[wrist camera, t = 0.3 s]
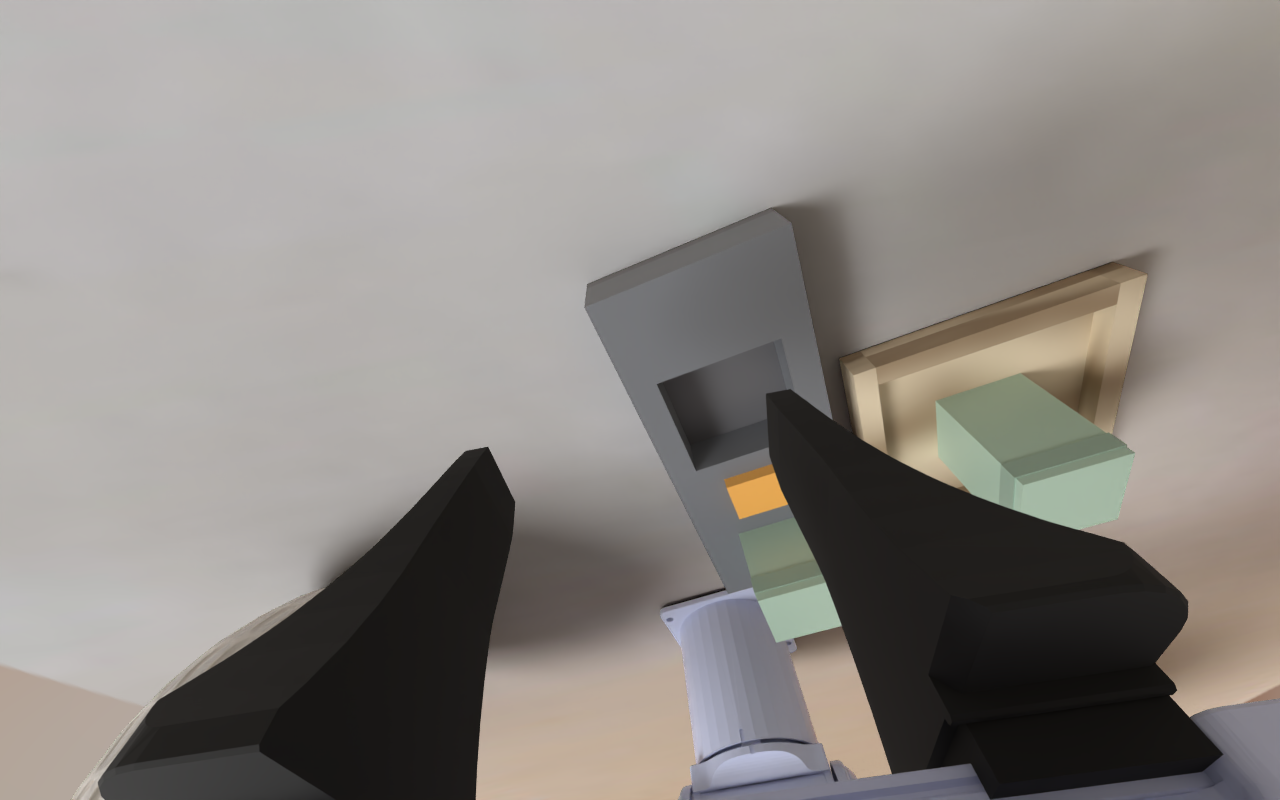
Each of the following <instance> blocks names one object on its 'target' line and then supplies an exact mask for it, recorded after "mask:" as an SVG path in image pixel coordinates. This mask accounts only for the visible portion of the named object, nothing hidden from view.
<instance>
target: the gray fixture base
mask: <svg viewBox="0 0 1280 800" xmlns="http://www.w3.org/2000/svg"><path fill="white" fill-rule="evenodd" d="M585 309H586V311H587V313H588V315H589V317H590V319H591V321H592V323H593V325H594V327H595V329H596V331H597V333H598V335H599V337H600V339H601V341H602V343H603V345H604V347H605V349H606V351H607V353H608V355H609V357H610V359H611V361H612V363H613V365H614V367H615V369H616V371H617V373H618V375H619V377H620V379H621V381H622V383H623V385H624V387H625V389H626V391H627V393H628V395H629V397H630V399H631V401H632V403H633V405H634V407H635V409H636V411H637V413H638V415H639V417H640V419H641V421H642V423H643V425H644V427H645V429H646V431H647V433H648V435H649V437H650V439H651V441H652V443H653V445H654V447H655V449H656V451H657V453H658V455H659V457H660V459H661V461H662V463H663V465H664V467H665V469H666V471H667V473H668V475H669V477H670V479H671V481H672V483H673V485H674V487H675V489H676V491H677V493H678V495H679V497H680V499H681V501H682V503H683V505H684V507H685V509H686V511H687V513H688V515H689V517H690V519H691V521H692V523H693V525H694V527H695V529H696V531H697V533H698V535H699V537H700V539H701V541H702V543H703V545H704V547H705V549H706V551H707V553H708V555H709V557H710V558H711V560H712V562H713V564H714V566H715V568H716V570H717V572H718V574H719V576H720V578H721V580H722V582H723V584H724V586H725V588H726V590H727V592H728V594H730V593H734V592H737V591H741V590H744V589H748V588H752V587H753V590H754V594H755V596H756V598H757V600H758V603H759V605H760V607H761V609H762V612H763V614H764V616H765V618H766V621H767V623H768V625H769V627H770V630H771V632H772V634H773V636H774V639H775V641H776V643H777V642H781V641H785V640H789V639H793V638H797V637H801V636H804V635H808V634H812V633H816V632H820V631H824V630H828V629H832V628H836V627H839V626H842V625H841V622H840V619H839V617H838V614H837V611H836V609H835V606H834V603H833V601H832V598H831V595H830V593H829V590H828V587H827V585H826V582H825V580H824V577H823V575H822V573H821V571H820V568H819V566H818V564H817V562H816V560H815V558H814V556H813V554H812V552H811V550H810V548H809V546H808V544H807V542H806V540H805V538H804V536H803V534H802V532H801V530H800V528H799V526H798V524H797V522H796V520H795V518H794V515H793V513H792V511H791V509H790V507H789V505H788V503H787V501H786V499H785V497H784V495H783V493H782V491H781V488H780V485H779V483H778V480H777V477H776V474H775V471H774V468H773V465H772V462H771V459H770V456H769V441H768V424H767V407H766V394H767V393H772V392H777V391H782V390H787V389H791V390H792V391H794V392H795V393H797V394H798V395H799V396H801V397H802V398H803V399H805V400H806V401H807V402H809V403H810V404H811V405H813V406H814V407H815V408H817V409H818V410H820V411H821V412H822V413H824V414H825V415H826V416H828V417H829V418H831V419H832V414H831V409H830V404H829V400H828V395H827V390H826V385H825V381H824V376H823V371H822V366H821V361H820V357H819V352H818V347H817V342H816V337H815V333H814V328H813V323H812V318H811V314H810V309H809V304H808V299H807V294H806V290H805V285H804V280H803V275H802V270H801V266H800V261H799V256H798V251H797V247H796V242H795V237H794V232H793V227H792V223H791V222H790V221H788V220H787V219H786V218H784V217H783V216H782V215H780V214H779V213H778V212H776V211H775V210H774V209H772V208H770V209H767V210H765V211H762V212H760V213H758V214H755V215H753V216H750V217H748V218H746V219H743V220H741V221H738V222H736V223H734V224H731V225H729V226H726V227H724V228H722V229H719V230H717V231H714V232H712V233H710V234H707V235H705V236H702V237H700V238H698V239H695V240H693V241H690V242H688V243H686V244H683V245H681V246H678V247H676V248H674V249H671V250H669V251H666V252H664V253H662V254H659V255H657V256H654V257H652V258H649V259H647V260H645V261H642V262H640V263H637V264H635V265H633V266H630V267H628V268H625V269H623V270H621V271H618V272H616V273H613V274H611V275H609V276H606V277H604V278H601V279H599V280H597V281H594V282H592V283H589V284H587V291H586V299H585ZM832 420H833V419H832Z"/></svg>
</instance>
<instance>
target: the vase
mask: <svg viewBox="0 0 1280 800" xmlns="http://www.w3.org/2000/svg"><path fill="white" fill-rule="evenodd" d="M324 589H325V588H322V589H319V590H317V591H314V592H311V593H308V594H305V595H302V596H300V597H298V598H296V599H294V600H291V601H289V602H287V603H285V604H283V605H281V606H279V607H277V608H275V609H273V610H271V611H269V612H267V613H265V614H263V615H261V616H260V617H258V618H257V619H255V620H253V621H252V622H250V623H248V624H247V625H245V626H244V627H242V628H240V629H239V630H237V631H235V632H234V633H232V634H231V635H229V636H227V637H226V638H224V639H222V640H221V641H220V642H218V643H217V644H215V645H214V646H213V647H211V648H210V649H209V650H208V651H206V652H205V653H204V654H203V655H202V656H200V657H199V658H198V659H197V660H195V661H194V662H193V663H192V664H191V665H189V666H188V667H187V668H186V669H185V670H183V671H182V672H181V673H180V674H178V675H177V676H176V677H175V678H174V679H172V680H171V681H170V682H169V683H167V684H166V685H165V686H164V687H163V689H162V690H161V691H160V692H159V693H158V694H157V695H156V696H155V697H154V698H153V699H152V700H151V701H150V702H149V703H148V704H147V705H146V706H145V707H144V709H142V711H140V713H139V714H138V715H137V716H136V717H135V718H134V719H133V720H132V721H131V722H130V723H129V724H128V725H127V726H126V727H125V728H124V729H123V731H122V732H121V733H120V735H119V736H118V737H117V738H116V740H115V741H114V742H113V744H112V745H111V746H110V748H109V749H108V750H107V751H106V753H105V754H104V755H103V757H102V758H101V759H100V761H99V762H98V763H97V764H96V766H95V767H94V769H93V770H92V771H91V772H90V774H89V775H88V776H87V777H86V779H85V780H84V781H83V783H82V784H81V785H80V787H79V788H78V790H77V791H76V793H75V794H74V796H73V797H72V799H71V800H105V799H103V798H102V797H101V794H100V791H99V787H98V781H99V779H100V778H101V776H102V774H103V773H104V772H105V770H106V769H107V768H108V766H109V765H110V764H111V762H112V761H113V760H114V758H115V757H116V756H117V754H118V753H119V752H120V750H121V749H122V748H123V746H124V745H125V744H126V742H127V741H128V740H129V738H130V737H131V735H132V734H133V733H134V731H135V730H136V729H137V727H138V726H139V724H140V723H141V722H142V720H143V719H144V718H145V716H146V715H147V713H148V712H149V711H150V709H151V708H152V707H153V705H154V704H155V703H156V702H157V701H158V700H159V699H160V698H162V697H164V696H166V695H167V694H169V693H171V692H172V691H174V690H176V689H177V688H179V687H181V686H182V685H184V684H186V683H187V682H189V681H191V680H192V679H194V678H195V677H197V676H199V675H200V674H202V673H204V672H205V671H207V670H209V669H210V668H212V667H214V666H215V665H217V664H218V663H220V662H222V661H223V660H225V659H226V658H228V657H230V656H231V655H233V654H234V653H236V652H237V651H239V650H240V649H242V648H243V647H245V646H246V645H248V644H249V643H251V642H252V641H254V640H255V639H257V638H258V637H260V636H261V635H263V634H264V633H266V632H267V631H269V630H270V629H271V628H273V627H274V626H276V625H277V624H278V623H280V622H281V621H283V620H284V619H286V618H287V617H288V616H290V615H291V614H292V613H294V612H295V611H296V610H298V609H299V608H300V607H302V606H303V605H304V604H305V603H307V602H308V601H309V600H311V599H312V598H313V597H315V596H316V595H317V594H318V593H320V592H321V591H322V590H324Z"/></svg>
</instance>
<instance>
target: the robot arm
mask: <svg viewBox="0 0 1280 800" xmlns="http://www.w3.org/2000/svg"><path fill="white" fill-rule="evenodd" d="M766 407H767V424H768V441H769V456H770V459H771V462H772V465H773V468H774V471H775V474H776V477H777V480H778V483H779V485H780V488H781V491H782V493H783V495H784V497H785V499H786V501H787V503H788V505H789V507H790V509H791V511H792V513H793V515H794V518H795V520H796V522H797V524H798V526H799V528H800V530H801V532H802V534H803V536H804V538H805V540H806V542H807V544H808V546H809V548H810V550H811V552H812V554H813V556H814V558H815V560H816V562H817V564H818V566H819V568H820V571H821V573H822V575H823V577H824V580H825V582H826V585H827V587H828V590H829V593H830V595H831V598H832V601H833V603H834V606H835V609H836V611H837V614H838V617H839V619H840V622H841V625H842V628H843V630H844V633H845V636H846V639H847V641H848V644H849V647H850V650H851V653H852V655H853V658H854V661H855V664H856V667H857V670H858V673H859V676H860V678H861V681H862V684H863V687H864V690H865V693H866V696H867V699H868V702H869V705H870V708H871V711H872V714H873V717H874V720H875V723H876V726H877V729H878V732H879V735H880V738H881V741H882V744H883V747H884V750H885V754H886V757H887V760H888V763H889V766H890V769H891V772H892V774H890V775H882V776H875V777H867V778H860V779H857V778H856V776H855V774H854V773H853V772H852V771H851V770H850V769H848V768H847V767H845V766H844V765H843V763H842V762H841V761H839V760H835V761H830V767H829V764H828V761H827V758H826V755H825V751H824V748H823V745H822V744H821V743H818V741H817V738H816V735H815V731H814V728H813V725H812V722H811V719H810V716H809V712H808V709H807V706H806V703H805V700H804V697H803V694H802V690H801V687H800V684H799V681H798V678H797V675H796V671H795V668H794V665H793V662H792V659H791V656H790V653H792V652H795V651H796V650H797V646H796V643H795V641H794V638H793V639H789V640H785V641H781V642H777V643H776V641H775V639H774V636H773V634H772V632H771V630H770V627H769V625H768V623H767V621H766V618H765V616H764V614H763V612H762V609H761V607H760V605H759V603H758V600H757V598H756V596H755V594H754V590H753V587H752V588H748V589H744V590H741V591H737V592H734V593H730V594H728V592H727V590H725V591H721V592H718V593H714V594H711V595H707V596H703V597H700V598H696V599H693V600H689V601H686V602H682V603H679V604H675V605H671V606H668V607H664V608H662V609H661V610H660V617H661V618H662V620H663V621H664V623H665V624H666V626H667V627H668V629H669V630H670V632H671V633H672V635H673V636H674V638H675V639H676V641H677V642H678V644H679V645H680V647H681V648H682V655H683V663H684V671H685V679H686V687H687V694H688V702H689V710H690V718H691V726H692V734H693V742H694V750H695V758H696V765H692V766H690V772H691V780H692V785H689V786H685V787H683V788H682V790H681V793H680V796H679V798H678V800H1280V699H1273V700H1266V701H1258V702H1251V703H1244V704H1237V705H1229V706H1222V707H1217V708H1213V709H1208V710H1205V711H1202V712H1200V713H1197V714H1195V715H1193V716H1191V717H1190V718H1189V716H1188V715H1187V714H1186V713H1185V712H1184V711H1183V710H1182V709H1181V708H1180V707H1179V706H1178V705H1177V703H1176V702H1175V701H1174V700H1173V699H1172V698H1171V697H1170V696H1169V695H1173V694H1174V693H1175V692H1176V691H1177V689H1176V686H1175V683H1174V682H1173V681H1172V680H1171V679H1170V678H1169V677H1168V676H1167V675H1166V674H1165V673H1164V672H1163V671H1162V670H1161V669H1160V668H1159V667H1158V666H1157V664H1156V663H1155V662H1156V661H1157V660H1158V659H1159V657H1160V656H1161V655H1162V654H1163V652H1164V651H1165V650H1166V649H1167V647H1168V646H1169V645H1170V644H1171V642H1172V641H1173V640H1174V639H1175V637H1176V636H1177V635H1178V634H1179V632H1180V631H1181V629H1182V628H1183V626H1184V624H1185V622H1186V621H1187V618H1188V600H1187V599H1186V598H1185V597H1184V595H1183V594H1182V593H1181V592H1180V591H1179V590H1178V589H1177V588H1176V587H1175V586H1173V585H1172V584H1171V583H1170V582H1169V581H1168V580H1167V579H1166V578H1164V577H1163V576H1162V575H1161V574H1160V573H1159V572H1158V571H1157V570H1155V569H1154V568H1153V567H1152V566H1151V565H1150V564H1149V563H1147V562H1146V561H1145V560H1144V559H1143V558H1142V557H1140V556H1139V555H1138V554H1137V553H1136V552H1135V551H1133V550H1132V549H1131V548H1130V547H1128V546H1127V545H1126V544H1125V543H1123V542H1120V541H1116V540H1113V539H1109V538H1106V537H1102V536H1098V535H1095V534H1091V533H1088V532H1084V531H1081V530H1077V529H1073V528H1070V527H1066V526H1063V525H1059V524H1056V523H1052V522H1049V521H1046V520H1043V519H1040V518H1037V517H1034V516H1031V515H1028V514H1025V513H1022V512H1019V511H1016V510H1013V509H1010V508H1007V507H1004V506H1001V505H999V504H996V503H993V502H990V501H988V500H985V499H982V498H980V497H977V496H975V495H972V494H970V493H968V492H965V491H963V490H960V489H958V488H955V487H953V486H951V485H948V484H946V483H944V482H941V481H939V480H937V479H935V478H932V477H930V476H928V475H926V474H924V473H922V472H920V471H918V470H916V469H914V468H912V467H910V466H908V465H906V464H904V463H902V462H900V461H898V460H896V459H894V458H893V457H891V456H889V455H887V454H885V453H884V452H882V451H880V450H879V449H877V448H875V447H873V446H872V445H870V444H868V443H867V442H865V441H863V440H862V439H860V438H859V437H857V436H855V435H854V434H853V433H851V432H850V431H848V430H847V429H845V428H844V427H842V426H841V425H839V424H838V423H836V422H835V421H833V420H832V419H831V418H829V417H828V416H826V415H825V414H824V413H822V412H821V411H820V410H818V409H817V408H815V407H814V406H813V405H811V404H810V403H809V402H807V401H806V400H805V399H803V398H802V397H801V396H799V395H798V394H797V393H795V392H794V391H792V390H791V389H787V390H782V391H777V392H772V393H767V394H766ZM514 511H515V501H514V499H513V497H512V495H511V493H510V491H509V489H508V486H507V484H506V482H505V480H504V478H503V476H502V474H501V472H500V470H499V468H498V466H497V464H496V462H495V460H494V458H493V456H492V454H491V452H490V450H489V448H488V447H485V448H479V449H474V450H469V451H465V452H464V453H463V454H462V455H461V456H460V457H459V458H458V459H457V460H456V461H455V462H454V463H453V464H452V465H451V466H450V468H449V469H448V470H447V471H446V472H445V473H444V474H443V475H442V476H441V477H440V478H439V480H438V481H437V482H436V483H435V484H434V485H433V486H432V487H431V488H430V489H429V491H428V492H427V493H426V494H425V495H424V496H423V497H422V498H421V499H420V500H419V501H418V502H417V504H416V505H415V506H414V507H413V508H412V509H411V510H410V511H409V512H408V513H407V514H406V515H405V516H404V517H403V518H402V519H401V520H400V521H399V522H398V523H397V524H396V525H395V526H394V527H393V528H392V529H391V530H390V531H389V532H388V533H387V534H386V535H385V536H384V537H383V538H382V539H381V540H380V541H379V542H378V543H377V544H376V545H375V546H374V547H373V548H372V549H371V550H370V551H368V552H367V553H366V554H365V555H364V556H363V557H362V558H361V559H360V560H358V561H357V562H356V563H355V564H354V565H353V566H352V567H350V568H349V569H348V570H347V571H346V572H345V573H343V574H342V575H341V576H340V577H339V578H337V579H336V580H335V581H334V582H333V583H331V584H330V585H329V586H327V587H326V588H325V589H324V590H322V591H321V592H320V593H318V594H317V595H316V596H315V597H313V598H312V599H311V600H309V601H308V602H307V603H305V604H304V605H303V606H302V607H300V608H299V609H298V610H296V611H295V612H294V613H292V614H291V615H290V616H288V617H287V618H286V619H284V620H283V621H281V622H280V623H278V624H277V625H276V626H274V627H273V628H271V629H270V630H269V631H267V632H266V633H264V634H263V635H261V636H260V637H258V638H257V639H255V640H254V641H252V642H251V643H249V644H248V645H246V646H245V647H243V648H242V649H240V650H239V651H237V652H236V653H234V654H233V655H231V656H230V657H228V658H226V659H225V660H223V661H222V662H220V663H218V664H217V665H215V666H214V667H212V668H210V669H209V670H207V671H205V672H204V673H202V674H200V675H199V676H197V677H195V678H194V679H192V680H191V681H189V682H187V683H186V684H184V685H182V686H181V687H179V688H177V689H176V690H174V691H172V692H171V693H169V694H167V695H166V696H164V697H162V698H160V699H159V700H158V701H157V702H156V703H155V704H154V705H153V707H152V708H151V709H150V711H149V712H148V713H147V715H146V716H145V718H144V719H143V720H142V722H141V723H140V724H139V726H138V727H137V729H136V730H135V731H134V733H133V734H132V735H131V737H130V738H129V740H128V741H127V742H126V744H125V745H124V746H123V748H122V749H121V750H120V752H119V753H118V754H117V756H116V757H115V758H114V760H113V761H112V762H111V764H110V765H109V766H108V768H107V769H106V770H105V772H104V773H103V774H102V776H101V778H100V779H99V781H98V787H99V791H100V794H101V797H102V798H103V799H105V800H476V778H477V761H478V747H479V733H480V719H481V709H482V700H483V690H484V680H485V671H486V663H487V656H488V648H489V640H490V634H491V629H492V623H493V618H494V614H495V610H496V605H497V601H498V597H499V593H500V588H501V584H502V580H503V576H504V571H505V567H506V563H507V558H508V554H509V550H510V545H511V540H512V534H513V524H514ZM830 768H831V771H830ZM831 772H832V773H831Z"/></svg>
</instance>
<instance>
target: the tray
mask: <svg viewBox="0 0 1280 800" xmlns="http://www.w3.org/2000/svg"><path fill="white" fill-rule="evenodd" d="M1147 275H1148V274H1146V273H1143V272H1140V271H1138V270H1135V269H1132V268H1129V267H1126V266H1123V265H1120V264H1117V263H1115V262H1111V263H1109V264H1106V265H1103V266H1100V267H1097V268H1094V269H1092V270H1089V271H1086V272H1083V273H1080V274H1077V275H1074V276H1072V277H1069V278H1066V279H1063V280H1060V281H1057V282H1055V283H1052V284H1049V285H1046V286H1043V287H1040V288H1038V289H1035V290H1032V291H1029V292H1026V293H1023V294H1021V295H1018V296H1015V297H1012V298H1009V299H1006V300H1004V301H1001V302H998V303H995V304H992V305H989V306H986V307H984V308H981V309H978V310H975V311H972V312H969V313H967V314H964V315H961V316H958V317H955V318H952V319H950V320H947V321H944V322H941V323H938V324H935V325H933V326H930V327H927V328H924V329H921V330H918V331H916V332H913V333H910V334H907V335H904V336H901V337H898V338H896V339H893V340H890V341H887V342H884V343H881V344H879V345H876V346H873V347H870V348H867V349H864V350H862V351H859V352H856V353H853V354H850V355H847V356H845V357H842V358H839V361H840V366H841V372H842V377H843V383H844V388H845V394H846V399H847V405H848V410H849V416H850V421H851V427H852V432H853V434H854V435H855V436H857V437H859V438H860V439H862V440H863V441H865V442H867V443H868V444H870V445H872V446H873V447H875V448H877V449H879V450H880V451H882V452H884V453H885V454H887V455H889V456H891V457H893V458H894V459H896V460H898V461H900V462H902V463H904V464H906V465H908V466H910V467H912V468H914V469H916V470H918V471H920V472H922V473H924V474H926V475H928V476H930V477H932V478H935V479H937V480H939V481H941V482H944V483H946V484H948V485H951V486H953V487H955V488H958V489H960V490H963V491H965V492H968V493H970V492H969V491H968V489H967V488H966V487H965V486H964V485H963V484H962V483H961V482H960V480H959V479H958V478H957V477H956V476H955V475H954V474H953V473H952V471H951V470H950V469H949V468H948V467H947V466H946V465H945V464H944V462H943V461H942V460H941V459H940V458H939V457H938V440H937V420H936V400H939V399H943V398H946V397H949V396H952V395H955V394H958V393H961V392H964V391H967V390H970V389H973V388H976V387H979V386H982V385H985V384H989V383H992V382H995V381H998V380H1001V379H1004V378H1007V377H1010V376H1013V375H1016V374H1019V373H1021V374H1022V375H1024V376H1025V377H1027V378H1028V379H1030V380H1031V381H1033V382H1034V383H1035V384H1037V385H1038V386H1040V387H1041V388H1043V389H1044V390H1045V391H1047V392H1048V393H1050V394H1051V395H1053V396H1054V397H1055V398H1057V399H1058V400H1060V401H1061V402H1063V403H1064V404H1066V405H1067V406H1068V407H1070V408H1071V409H1073V410H1074V411H1076V412H1077V413H1078V414H1080V415H1081V416H1083V417H1084V418H1086V419H1087V420H1089V421H1090V422H1091V423H1093V424H1094V425H1096V426H1097V427H1099V428H1100V429H1101V430H1103V431H1104V432H1106V433H1108V432H1109V433H1111V434H1112V432H1113V428H1114V423H1115V419H1116V414H1117V410H1118V405H1119V401H1120V396H1121V392H1122V388H1123V383H1124V379H1125V374H1126V370H1127V365H1128V361H1129V356H1130V352H1131V347H1132V343H1133V338H1134V334H1135V329H1136V325H1137V320H1138V316H1139V311H1140V307H1141V302H1142V298H1143V293H1144V289H1145V284H1146V280H1147ZM970 494H971V493H970Z"/></svg>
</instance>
